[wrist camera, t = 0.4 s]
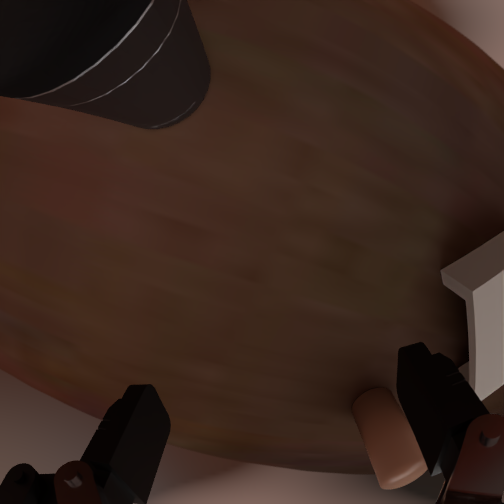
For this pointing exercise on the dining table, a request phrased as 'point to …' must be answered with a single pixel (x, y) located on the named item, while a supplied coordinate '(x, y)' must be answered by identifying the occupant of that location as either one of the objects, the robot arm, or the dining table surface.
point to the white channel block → (482, 312)
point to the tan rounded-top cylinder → (388, 438)
